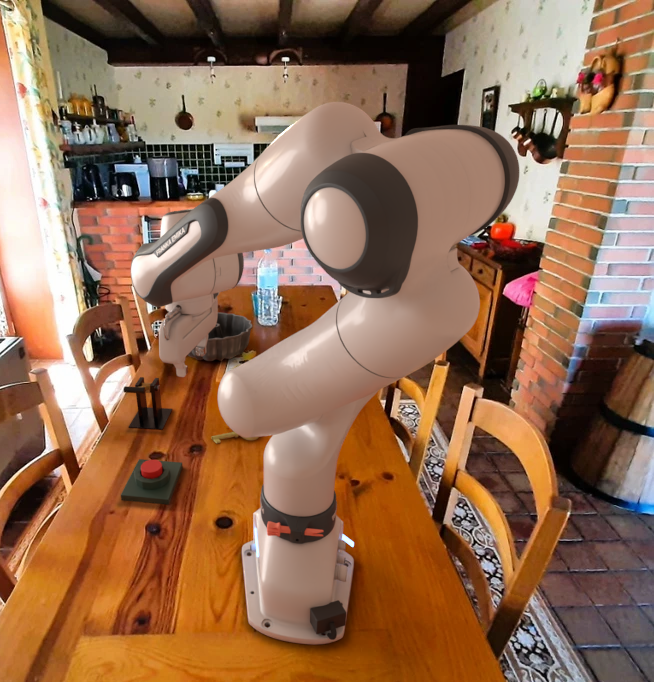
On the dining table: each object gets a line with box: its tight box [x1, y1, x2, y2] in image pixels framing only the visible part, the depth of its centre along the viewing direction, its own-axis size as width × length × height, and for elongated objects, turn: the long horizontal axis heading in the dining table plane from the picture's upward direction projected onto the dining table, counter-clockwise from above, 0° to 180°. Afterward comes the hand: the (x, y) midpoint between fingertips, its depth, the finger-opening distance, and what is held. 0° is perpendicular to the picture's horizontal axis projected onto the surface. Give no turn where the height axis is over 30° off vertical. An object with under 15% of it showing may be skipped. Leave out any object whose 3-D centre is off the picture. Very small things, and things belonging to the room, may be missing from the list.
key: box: [210, 431, 260, 444], centre depth 117 cm, size 7×12×2 cm, turn 132°
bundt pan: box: [187, 312, 254, 362], centre depth 165 cm, size 26×26×10 cm
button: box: [141, 459, 163, 479], centre depth 101 cm, size 4×4×2 cm
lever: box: [122, 382, 152, 394], centre depth 118 cm, size 12×5×2 cm, turn 169°
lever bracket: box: [128, 376, 173, 431], centre depth 125 cm, size 10×9×12 cm
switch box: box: [120, 458, 184, 506], centre depth 102 cm, size 12×10×4 cm
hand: (192, 364), depth 95 cm, fingers open, 8 cm apart
